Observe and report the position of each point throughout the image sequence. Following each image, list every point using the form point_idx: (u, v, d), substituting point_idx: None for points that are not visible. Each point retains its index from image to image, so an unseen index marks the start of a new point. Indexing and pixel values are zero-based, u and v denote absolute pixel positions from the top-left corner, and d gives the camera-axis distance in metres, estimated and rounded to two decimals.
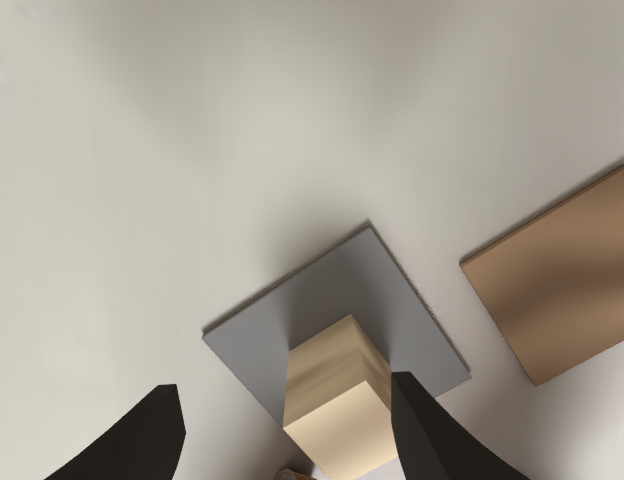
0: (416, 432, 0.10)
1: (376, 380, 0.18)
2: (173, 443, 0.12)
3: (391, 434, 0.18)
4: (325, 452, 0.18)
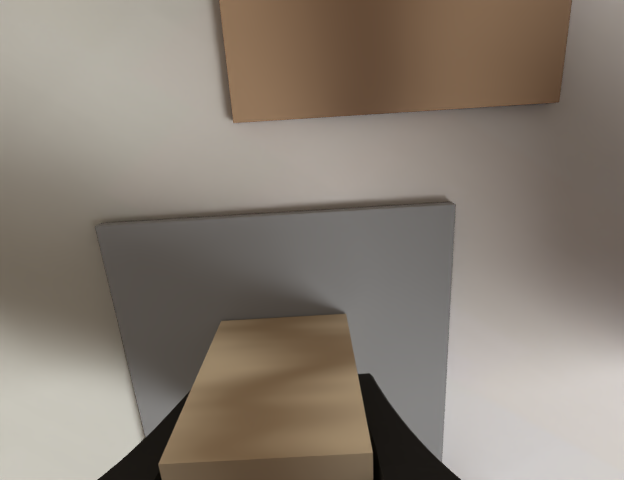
0: None
1: (236, 411, 0.09)
2: None
3: None
4: None
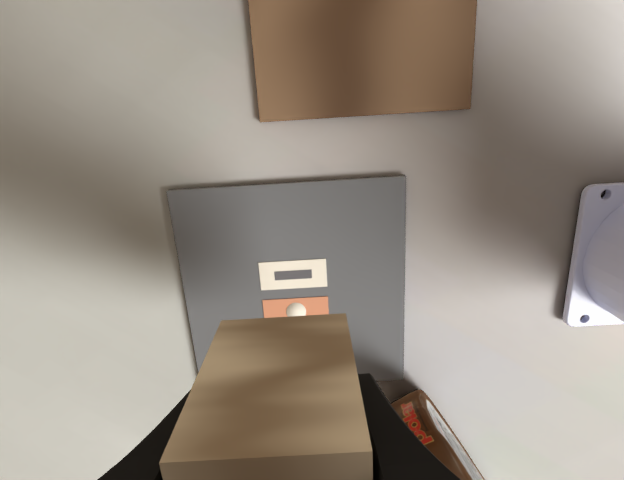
0: None
1: (236, 410, 0.09)
2: None
3: (313, 478, 0.08)
4: None
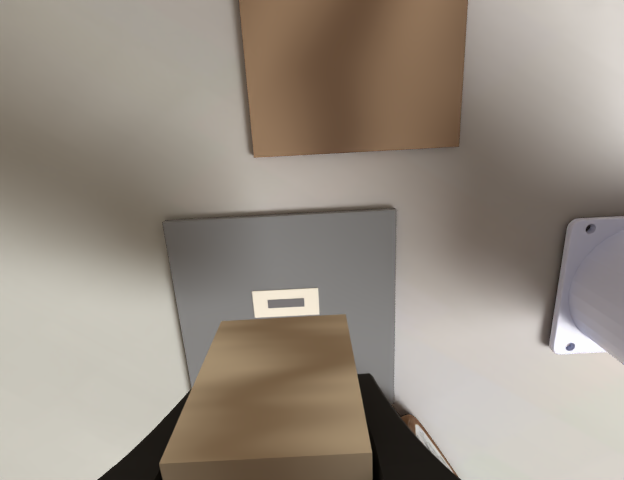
0: None
1: (236, 411, 0.09)
2: None
3: (312, 479, 0.08)
4: None
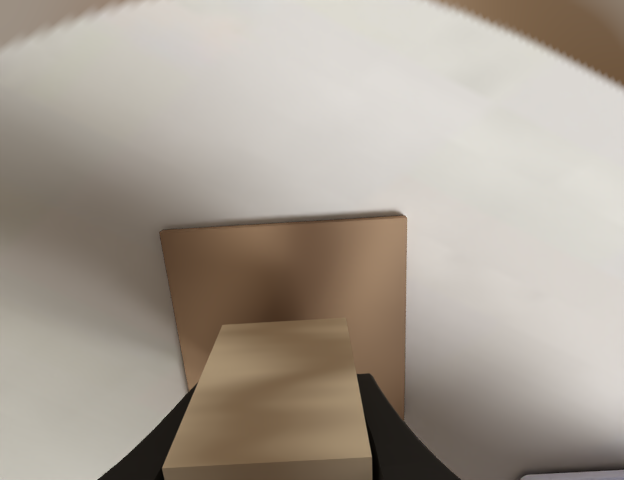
0: None
1: (237, 415, 0.10)
2: None
3: None
4: None
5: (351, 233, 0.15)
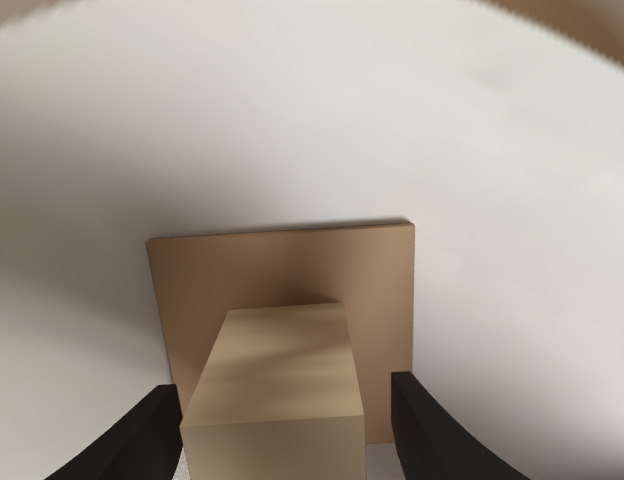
0: (416, 432, 0.10)
1: (245, 384, 0.11)
2: (173, 443, 0.12)
3: (313, 439, 0.09)
4: None
5: (354, 242, 0.14)
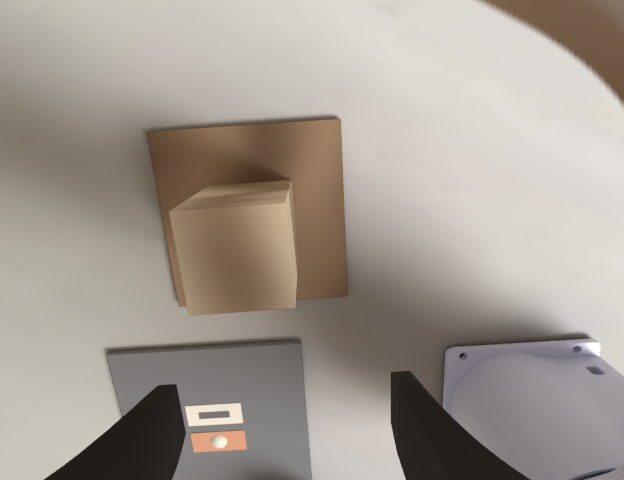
0: (416, 432, 0.10)
1: (213, 201, 0.16)
2: (173, 443, 0.12)
3: (253, 221, 0.15)
4: (240, 294, 0.16)
5: (297, 132, 0.20)
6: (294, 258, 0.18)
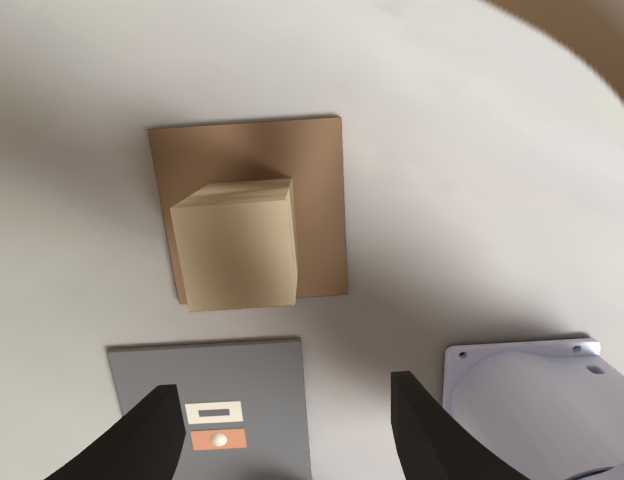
0: (416, 432, 0.10)
1: (213, 198, 0.16)
2: (173, 443, 0.12)
3: (254, 218, 0.15)
4: (240, 291, 0.16)
5: (298, 130, 0.20)
6: (294, 256, 0.18)
